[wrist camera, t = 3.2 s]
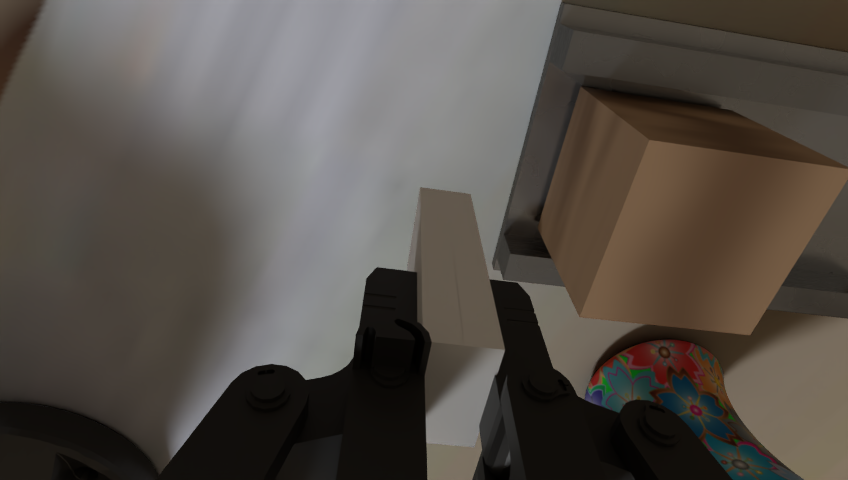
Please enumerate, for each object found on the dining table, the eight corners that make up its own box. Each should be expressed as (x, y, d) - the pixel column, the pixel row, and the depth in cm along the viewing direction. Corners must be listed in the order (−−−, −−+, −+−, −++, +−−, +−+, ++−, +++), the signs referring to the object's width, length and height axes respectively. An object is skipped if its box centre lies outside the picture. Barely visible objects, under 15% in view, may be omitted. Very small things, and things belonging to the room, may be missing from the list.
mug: (709, 304, 29) (850, 468, 20) (729, 404, 33) (851, 576, 24) (515, 369, 31) (560, 545, 22) (557, 455, 35) (609, 632, 26)
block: (537, 227, 25) (579, 317, 19) (580, 86, 21) (649, 140, 15) (668, 244, 25) (750, 335, 19) (731, 109, 22) (853, 169, 16)
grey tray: (492, 263, 27) (499, 292, 25) (560, 2, 21) (580, 8, 18) (824, 302, 29) (860, 331, 27) (982, 75, 23) (1045, 88, 20)
